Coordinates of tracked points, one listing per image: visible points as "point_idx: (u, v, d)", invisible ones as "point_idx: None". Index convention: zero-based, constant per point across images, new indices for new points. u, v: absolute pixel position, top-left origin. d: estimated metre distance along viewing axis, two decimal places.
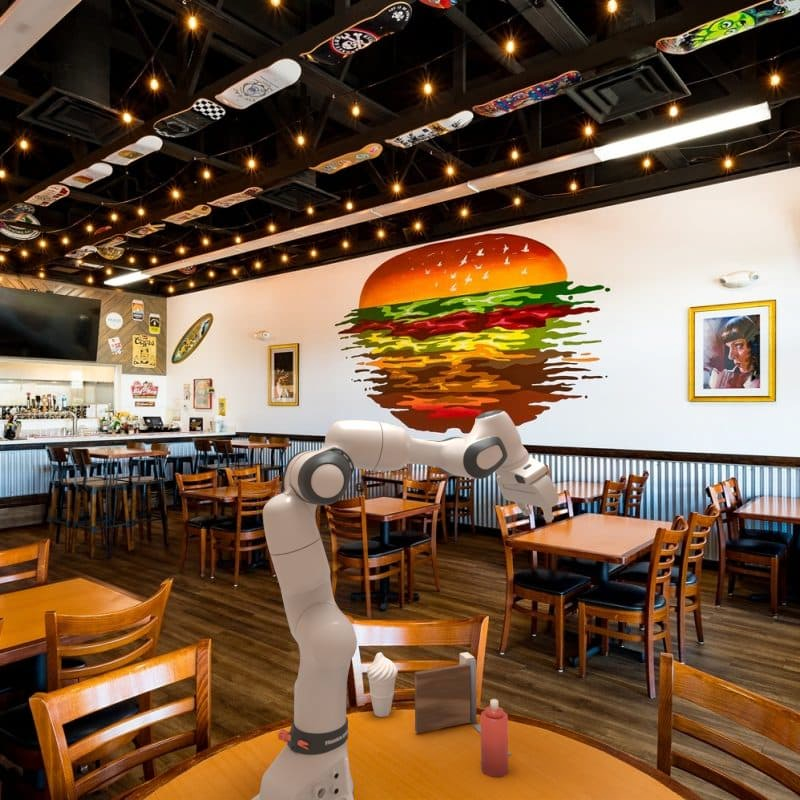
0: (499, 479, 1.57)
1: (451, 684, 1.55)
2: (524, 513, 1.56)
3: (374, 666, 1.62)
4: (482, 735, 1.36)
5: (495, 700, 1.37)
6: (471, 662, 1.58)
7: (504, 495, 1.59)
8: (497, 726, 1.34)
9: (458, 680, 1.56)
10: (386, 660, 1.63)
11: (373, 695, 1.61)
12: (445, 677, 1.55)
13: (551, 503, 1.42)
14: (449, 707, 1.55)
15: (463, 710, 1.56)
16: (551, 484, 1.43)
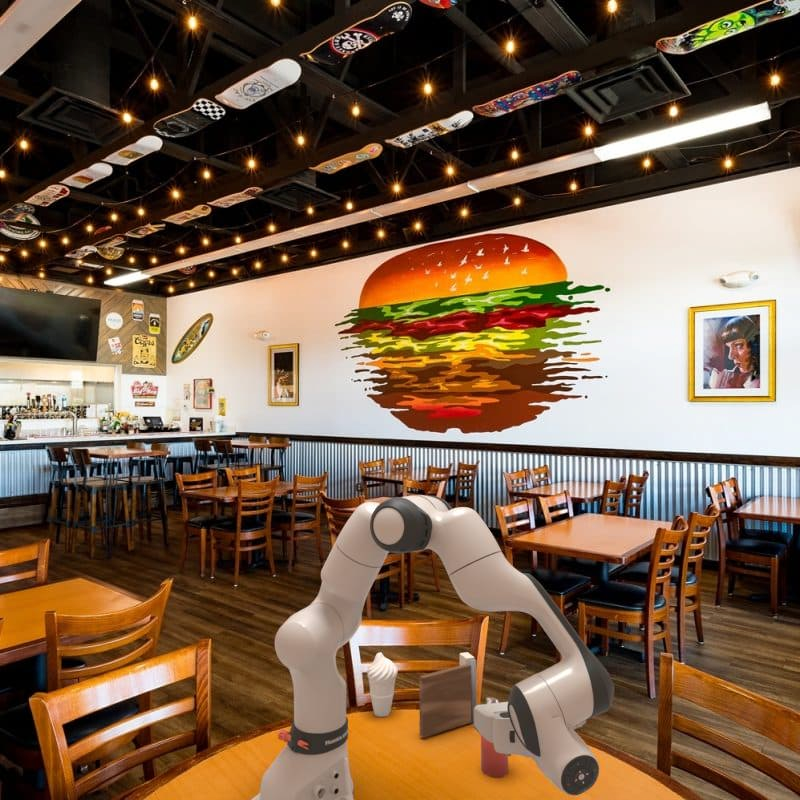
0: None
1: (453, 685, 1.54)
2: None
3: (374, 666, 1.62)
4: None
5: None
6: (471, 662, 1.58)
7: None
8: None
9: (460, 681, 1.56)
10: (386, 660, 1.63)
11: (373, 695, 1.61)
12: (448, 679, 1.54)
13: (474, 712, 1.19)
14: (452, 709, 1.54)
15: (465, 711, 1.56)
16: (482, 734, 1.15)
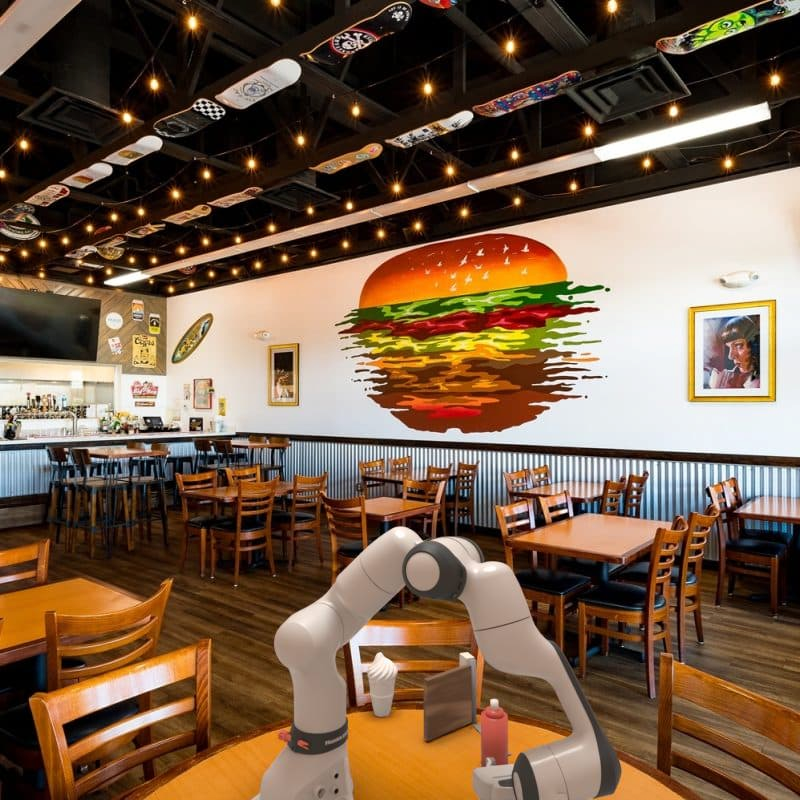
0: None
1: (455, 686, 1.54)
2: None
3: (374, 666, 1.62)
4: (482, 735, 1.36)
5: (495, 700, 1.37)
6: (471, 662, 1.58)
7: None
8: (497, 725, 1.34)
9: (462, 682, 1.55)
10: (386, 660, 1.63)
11: (373, 695, 1.61)
12: (451, 680, 1.53)
13: (473, 775, 1.19)
14: (454, 710, 1.53)
15: (466, 711, 1.56)
16: (481, 799, 1.15)
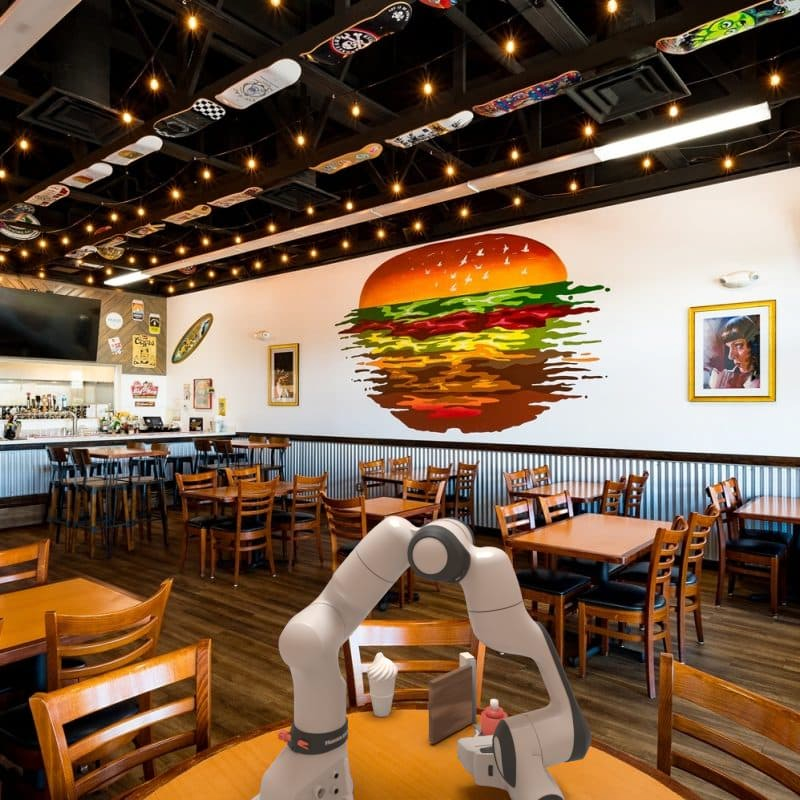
0: None
1: (458, 687, 1.53)
2: None
3: (374, 666, 1.62)
4: None
5: (495, 700, 1.37)
6: (471, 662, 1.58)
7: None
8: None
9: (463, 682, 1.55)
10: (386, 660, 1.63)
11: (373, 695, 1.61)
12: (454, 681, 1.52)
13: (457, 745, 1.30)
14: (457, 711, 1.53)
15: (467, 712, 1.56)
16: (464, 766, 1.26)
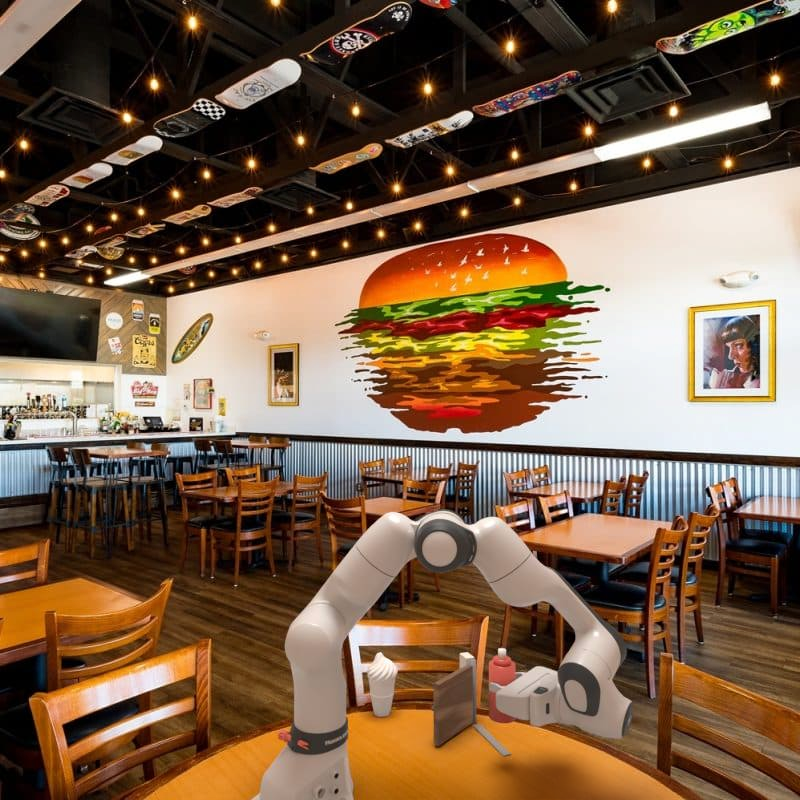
0: None
1: (460, 688, 1.53)
2: None
3: (374, 666, 1.62)
4: None
5: (502, 648, 1.40)
6: (471, 662, 1.58)
7: (540, 668, 1.42)
8: (512, 671, 1.37)
9: (465, 683, 1.55)
10: (386, 660, 1.63)
11: (373, 695, 1.61)
12: (457, 682, 1.52)
13: (498, 699, 1.28)
14: (459, 712, 1.52)
15: (468, 712, 1.55)
16: (515, 715, 1.26)
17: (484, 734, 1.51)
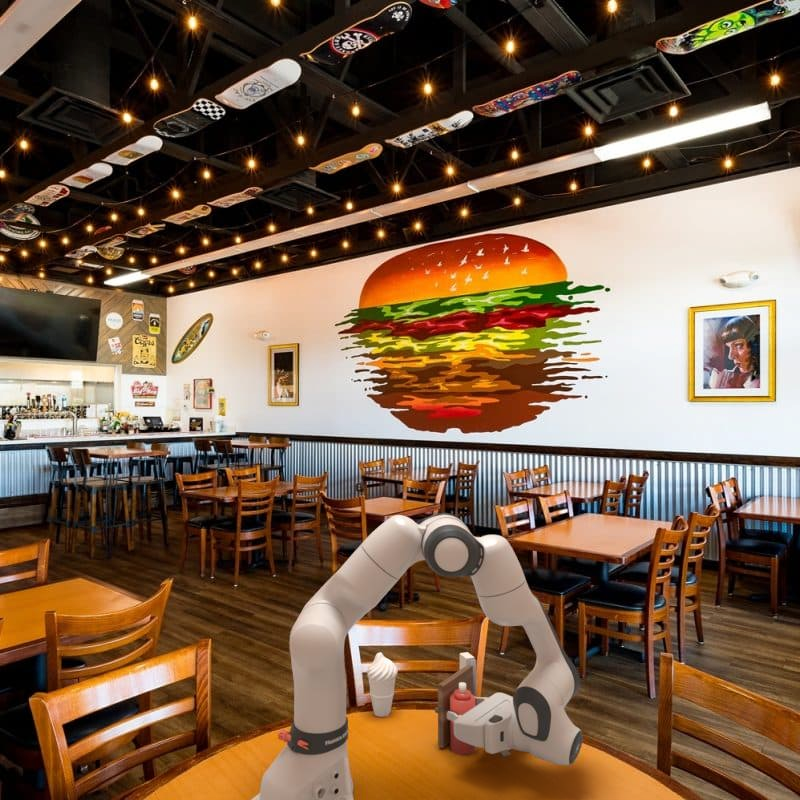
0: None
1: None
2: None
3: (374, 666, 1.62)
4: None
5: (463, 683, 1.46)
6: (471, 662, 1.58)
7: (500, 694, 1.49)
8: (472, 705, 1.44)
9: (466, 683, 1.54)
10: (386, 660, 1.63)
11: (373, 695, 1.61)
12: None
13: (456, 727, 1.35)
14: None
15: None
16: (471, 743, 1.33)
17: None
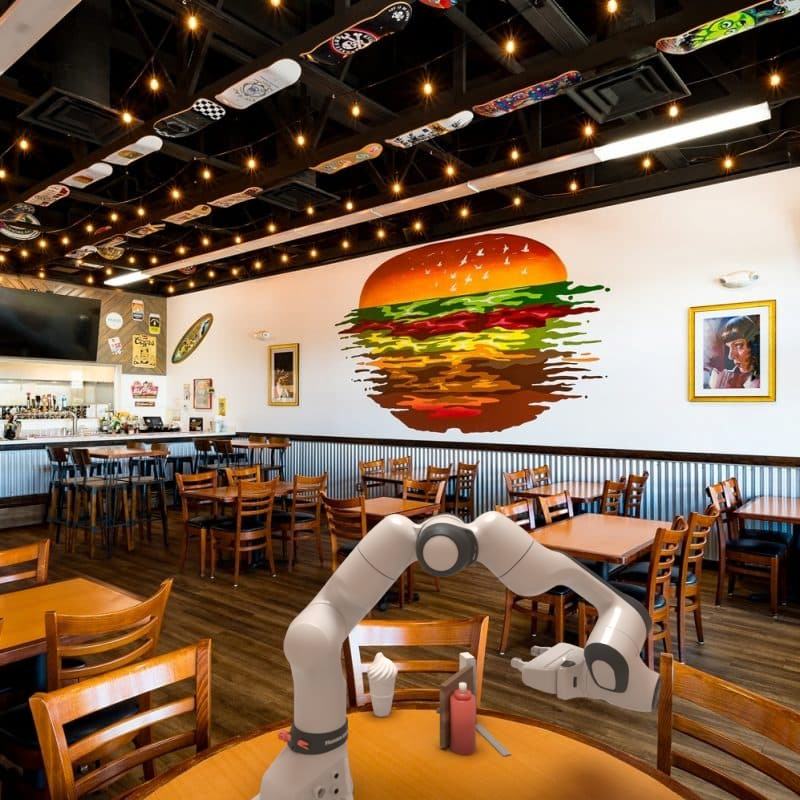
0: None
1: None
2: (535, 647, 1.42)
3: (374, 666, 1.62)
4: (457, 719, 1.43)
5: (463, 683, 1.46)
6: (471, 662, 1.58)
7: (564, 644, 1.41)
8: (472, 705, 1.44)
9: (467, 683, 1.54)
10: (386, 660, 1.63)
11: (373, 695, 1.61)
12: None
13: (525, 672, 1.27)
14: None
15: None
16: (542, 688, 1.25)
17: (484, 734, 1.51)
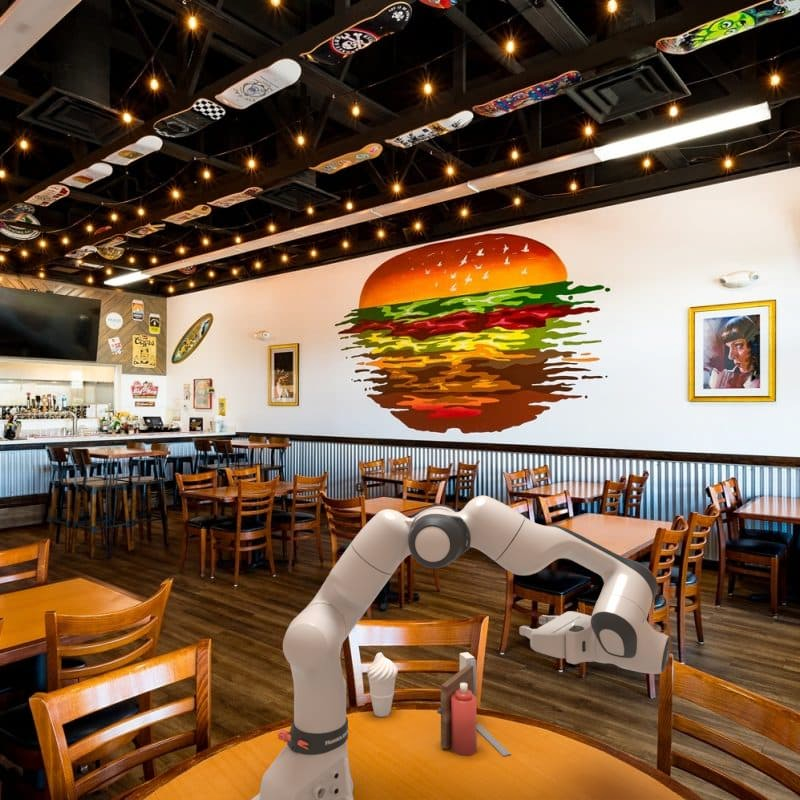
0: None
1: None
2: (543, 616, 1.41)
3: (374, 666, 1.62)
4: (458, 719, 1.43)
5: (464, 683, 1.46)
6: (471, 662, 1.58)
7: (572, 612, 1.41)
8: (473, 705, 1.43)
9: (467, 683, 1.54)
10: (386, 660, 1.63)
11: (373, 695, 1.61)
12: None
13: (533, 638, 1.27)
14: None
15: None
16: (551, 653, 1.25)
17: (484, 734, 1.51)
